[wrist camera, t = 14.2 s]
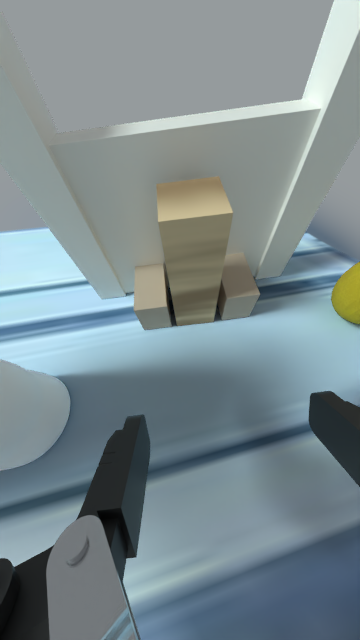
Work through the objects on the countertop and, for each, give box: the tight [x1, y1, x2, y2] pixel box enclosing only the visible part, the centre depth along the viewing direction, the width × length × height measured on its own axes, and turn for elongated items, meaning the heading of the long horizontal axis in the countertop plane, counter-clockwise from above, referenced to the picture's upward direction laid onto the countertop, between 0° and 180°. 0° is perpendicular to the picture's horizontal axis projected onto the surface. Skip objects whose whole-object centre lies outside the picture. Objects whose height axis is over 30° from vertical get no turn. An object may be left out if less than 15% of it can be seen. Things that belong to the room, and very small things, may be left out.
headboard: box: [0, 0, 360, 330], centre depth 14 cm, size 8×22×18 cm, turn 96°
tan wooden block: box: [156, 176, 233, 326], centre depth 16 cm, size 5×4×12 cm
